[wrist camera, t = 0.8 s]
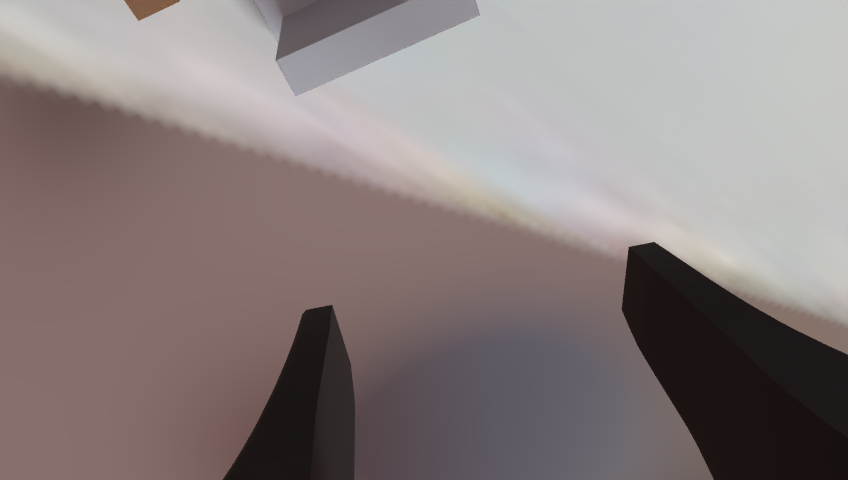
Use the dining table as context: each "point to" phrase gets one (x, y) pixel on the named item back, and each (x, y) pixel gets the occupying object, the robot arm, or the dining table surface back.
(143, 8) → the brown wooden frame
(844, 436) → the robot arm
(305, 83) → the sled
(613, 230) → the dining table surface
